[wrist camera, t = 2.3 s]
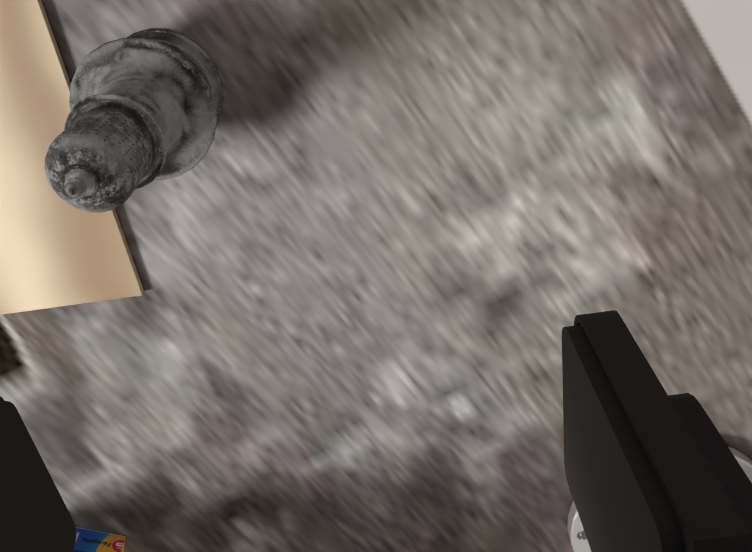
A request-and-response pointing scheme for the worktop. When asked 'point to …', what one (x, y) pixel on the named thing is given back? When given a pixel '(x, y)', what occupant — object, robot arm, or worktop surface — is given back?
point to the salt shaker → (134, 119)
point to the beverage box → (98, 541)
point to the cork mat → (46, 183)
